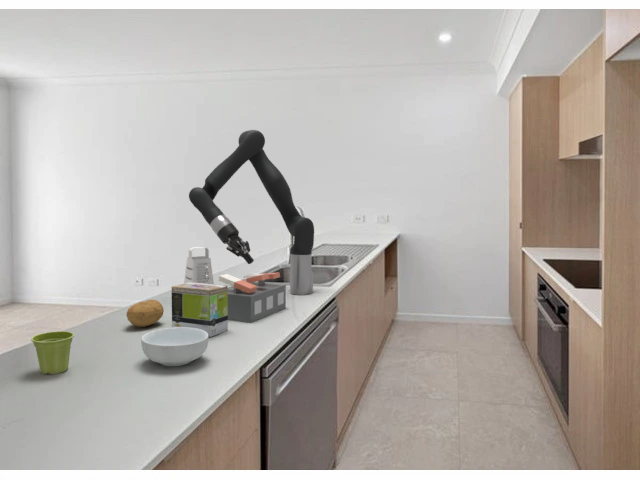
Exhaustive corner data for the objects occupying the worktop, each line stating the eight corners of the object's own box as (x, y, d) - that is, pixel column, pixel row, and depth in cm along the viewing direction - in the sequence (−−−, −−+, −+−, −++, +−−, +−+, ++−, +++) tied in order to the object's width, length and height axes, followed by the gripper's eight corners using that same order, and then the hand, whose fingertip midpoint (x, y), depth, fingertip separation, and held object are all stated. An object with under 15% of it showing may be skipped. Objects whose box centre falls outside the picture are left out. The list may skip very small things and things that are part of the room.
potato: (117, 329, 169) (117, 304, 168) (146, 319, 182) (146, 296, 182) (142, 333, 166) (142, 307, 165) (170, 322, 179) (170, 299, 178)
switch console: (257, 301, 215) (257, 275, 214) (293, 305, 208) (293, 278, 207) (211, 317, 187) (211, 287, 186) (251, 322, 180) (251, 291, 179)
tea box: (228, 330, 171) (228, 284, 169) (209, 338, 161) (209, 290, 160) (191, 324, 177) (190, 280, 175) (170, 331, 168) (170, 285, 166)
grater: (215, 295, 226) (215, 248, 224) (191, 297, 220) (191, 249, 218) (205, 291, 234) (205, 245, 232) (182, 293, 228) (182, 247, 227)
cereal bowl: (127, 367, 135) (126, 339, 134) (168, 349, 150) (168, 324, 149) (184, 376, 128) (183, 347, 128) (220, 356, 144) (220, 331, 143)
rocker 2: (239, 284, 199) (238, 279, 199) (269, 278, 193) (268, 273, 193) (232, 286, 194) (231, 281, 194) (262, 280, 189) (261, 275, 189)
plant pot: (41, 380, 124) (40, 344, 124) (26, 370, 131) (25, 336, 130) (81, 370, 131) (80, 336, 131) (65, 361, 138) (64, 329, 137)
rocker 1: (226, 278, 191) (227, 273, 191) (256, 291, 186) (257, 286, 186) (218, 280, 187) (219, 275, 186) (248, 293, 182) (250, 288, 182)
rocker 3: (250, 279, 206) (250, 274, 206) (280, 276, 201) (279, 272, 201) (244, 281, 202) (243, 276, 202) (273, 278, 196) (273, 274, 196)
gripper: (220, 223, 199) (248, 258, 195) (239, 221, 211) (266, 254, 207) (208, 236, 202) (236, 271, 198) (228, 234, 214) (254, 266, 210)
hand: (251, 262), depth 203 cm, fingers closed
